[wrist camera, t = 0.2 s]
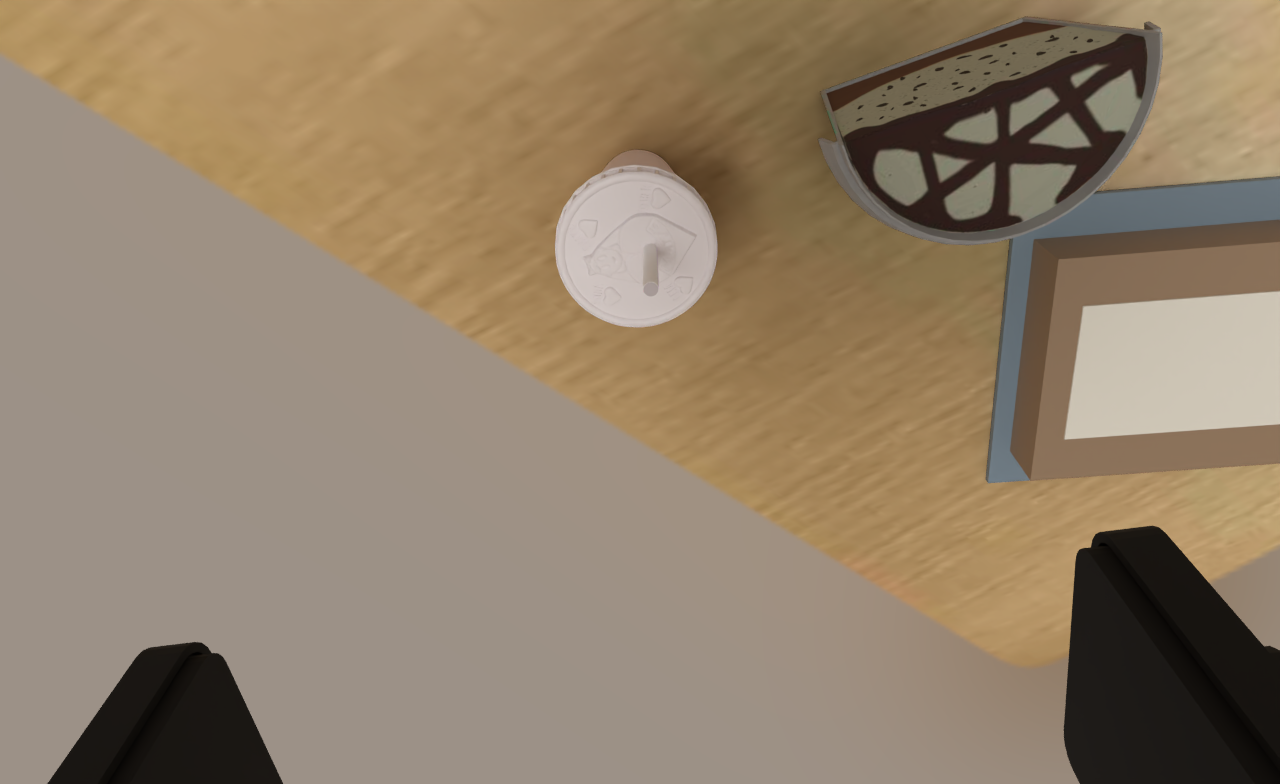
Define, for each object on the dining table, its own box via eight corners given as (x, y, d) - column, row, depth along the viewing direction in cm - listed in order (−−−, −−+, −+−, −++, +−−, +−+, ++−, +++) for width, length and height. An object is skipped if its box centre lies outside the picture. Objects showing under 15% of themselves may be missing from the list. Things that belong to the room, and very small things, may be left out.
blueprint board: (1013, 198, 44) (1042, 219, 41) (1399, 166, 43) (1458, 185, 40) (985, 479, 51) (1007, 515, 48) (1315, 455, 51) (1360, 491, 48)
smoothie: (718, 232, 45) (747, 351, 32) (594, 267, 46) (575, 396, 33) (684, 102, 42) (701, 178, 30) (552, 142, 43) (515, 232, 31)
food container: (822, 225, 45) (867, 300, 36) (788, 102, 42) (826, 150, 33) (1078, 138, 43) (1193, 194, 34) (1059, 3, 40) (1178, 26, 31)
